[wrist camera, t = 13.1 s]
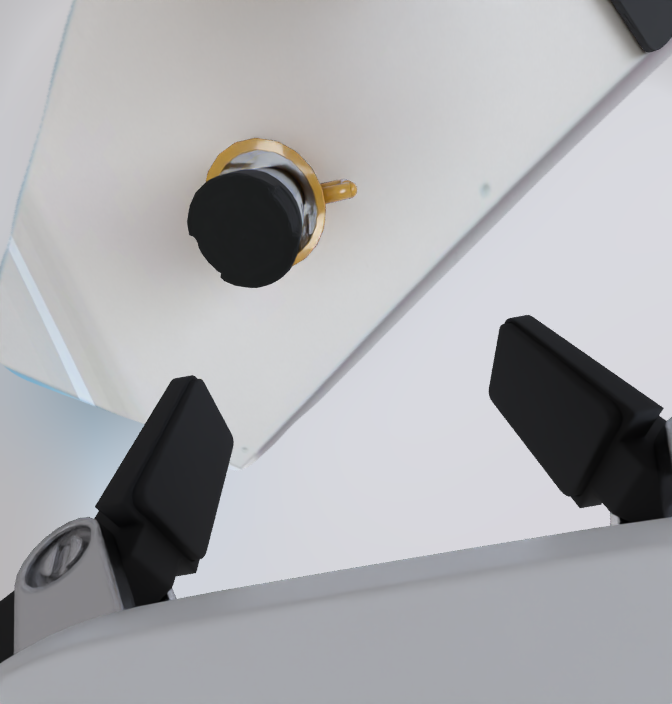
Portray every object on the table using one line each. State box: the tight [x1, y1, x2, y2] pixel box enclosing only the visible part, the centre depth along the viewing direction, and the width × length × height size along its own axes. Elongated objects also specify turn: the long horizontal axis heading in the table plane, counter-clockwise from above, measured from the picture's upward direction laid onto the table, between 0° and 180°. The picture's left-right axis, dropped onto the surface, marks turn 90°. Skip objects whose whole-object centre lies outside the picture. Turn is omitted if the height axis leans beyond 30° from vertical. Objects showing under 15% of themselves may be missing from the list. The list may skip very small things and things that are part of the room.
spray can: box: [187, 167, 305, 288], centre depth 26 cm, size 7×7×20 cm
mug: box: [206, 138, 357, 266], centre depth 30 cm, size 14×11×10 cm
